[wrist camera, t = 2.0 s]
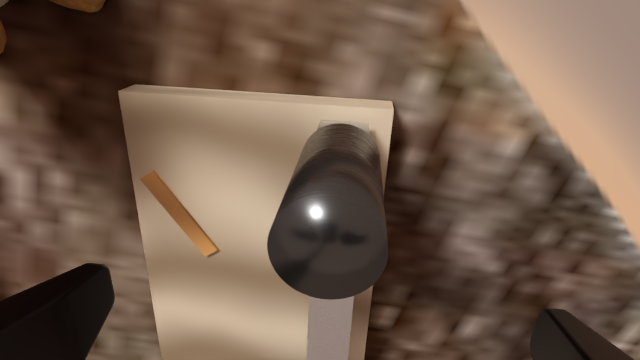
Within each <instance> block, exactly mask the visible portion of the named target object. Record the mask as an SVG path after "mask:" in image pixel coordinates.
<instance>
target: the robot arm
mask: <svg viewBox="0 0 640 360" xmlns="http://www.w3.org/2000/svg"><path fill="white" fill-rule="evenodd" d="M114 299H115V295H114V289H113V285H112V280H111V275H110V271H109V268H108V267H107V266H106V265H104V264H95V263H86V264H83V265H81V266H79V267H77V268H74V269H72V270H70V271H67V272H65V273H63V274H61V275H58V276H56V277H54V278H52V279H49V280H47V281H45V282H42V283H40V284H38V285H36V286H33V287H31V288H29V289H27V290H24V291H22V292H20V293H17V294H15V295H13V296H11V297H8V298H6V299H4V300H2V301H0V360H85V359H86V357H87V355H88V354H89V352H90V350H91V348H92V346H93V344H94V342H95V340H96V338H97V336H98V334H99V332H100V330H101V328H102V326H103V324H104V322H105V320H106V318H107V316H108V315H109V313H110V311H111V309H112V306H113V304H114ZM530 348H531V353H532V357H533V360H634V359H633V358H631V357H630V356H629V355H627V354H626V353H624V352H623V351H622V350H620V349H619V348H617V347H616V346H615V345H613V344H612V343H611V342H609V341H608V340H606V339H605V338H604V337H602V336H601V335H599V334H598V333H597V332H595V331H594V330H592V329H591V328H590V327H588V326H587V325H586V324H584V323H583V322H581V321H580V320H579V319H577V318H576V317H574V316H573V315H572V314H570V313H569V312H567V311H565V310H562V309H552V308H544V309H542V310H541V311H540V313H539V316H538V319H537V321H536V324H535V327H534V330H533V333H532V336H531V341H530Z"/></svg>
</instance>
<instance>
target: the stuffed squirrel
mask: <svg viewBox="0 0 640 360" xmlns="http://www.w3.org/2000/svg"><path fill="white" fill-rule="evenodd" d="M8 1H9V0H0V7H1V6H3V5H4V4H5V3H7V2H8ZM49 1H51V2H54V3H56V4H58V5H61V6H64V7H67V8H71V9H76V10H81V11H85V12H97V11H99V10H100V9H101V8H102V6H103V4H104V2H105V1H106V0H49ZM6 42H7V36H6V33H5V29H4V27H3V25H2V22H1V20H0V54H1V53H2V52H3V51H4V48H5V44H6Z"/></svg>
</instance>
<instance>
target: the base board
mask: <svg viewBox="0 0 640 360" xmlns="http://www.w3.org/2000/svg"><path fill="white" fill-rule="evenodd" d="M118 95H119V101H120V107H121V113H122V119H123V125H124V131H125V137H126V143H127V149H128V156H129V162H130V168H131V174H132V180H133V186H134V192H135V198H136V204H137V210H138V217H139V223H140V229H141V235H142V241H143V247H144V253H145V259H146V265H147V271H148V278H149V284H150V290H151V296H152V302H153V308H154V314H155V320H156V326H157V333H158V339H159V345H160V351H161V357H162V360H306V359H307V333H308V308H309V296H308V295H305V294H302V293H300V292H298V291H296V290H295V289H293V288H292V287H290V286H289V285H288V284H286V283H285V282H284V281H283V280H282V279H281V278H280V277H279V276H278V274H277V273H276V272H275V270H274V268H273V266H272V264H271V262H270V259H269V256H268V250H267V239H268V235H269V231H270V229H271V226H272V224H273V221H274V219H275V216H276V214H277V211H278V209H279V207H280V204H281V202H282V199H283V197H284V194H285V192H286V189H287V187H288V184H289V182H290V179H291V177H292V175H293V172H294V170H295V167H296V165H297V162H298V160H299V157H300V155H301V152H302V150H303V147H304V145H305V143H306V141H307V140H308V138H309V137H310V136H311V135H312V134H313V133H314V132H315V131H317V128H318V125H319V123H320V120H334V121H349V122H363V123H369V135H370V136H371V137H372V139H373V140H374V141H375V143H376V145H377V147H378V150H379V153H380V161H381V173H382V184H383V195H384V189H385V180H386V172H387V164H388V155H389V147H390V139H391V130H392V122H393V114H394V108H393V104H392V101H383V100H368V99H353V98H337V97H322V96H307V95H291V94H276V93H261V92H245V91H230V90H215V89H200V88H184V87H169V86H154V85H138V84H135V85H132V86H130V87H127V88H125V89H122V90H120V91H118ZM372 289H373V285H372V286H371V287H370V288H368V289H367V290H365V291H363V292H362V293H360V294H357V295H355V296H354V301H353V311H352V322H351V332H350V342H349V353H348V360H364V356H365V347H366V339H367V331H368V322H369V314H370V306H371V297H372Z"/></svg>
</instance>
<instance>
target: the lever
mask: <svg viewBox="0 0 640 360" xmlns="http://www.w3.org/2000/svg"><path fill="white" fill-rule="evenodd" d="M267 250H268V256H269V259H270V262H271V264H272V266H273V268H274V270H275V272H276V273H277V274H278V276H279V277H280V278H281V279H282V280H283V281H284V282H285V283H286V284H288V285H289V286H290V287H292V288H293V289H295V290H296V291H298V292H300V293H302V294H305V295H308V296H309V308H308V333H307V359H306V360H348V353H349V342H350V332H351V322H352V311H353V301H354V296H355V295H357V294H360V293H362V292H363V291H365V290H367V289H368V288H370V287H371V286H372V285H373V284H374V283H375V282H376V281H377V280H378V279H379V278H380V276H381V275H382V273H383V271H384V269H385V267H386V264H387V260H388V251H389V250H388V239H387V228H386V217H385V206H384V195H383V184H382V173H381V161H380V153H379V150H378V147H377V145H376V143H375V141H374V140H373V139H372V137H371V136H370V135H369V123H363V122H349V121H334V120H320V123H319V125H318V128H317V131H315V132H314V133H313V134H312V135H311V136H310V137H309V138H308V140H307V141H306V143H305V145H304V147H303V150H302V152H301V155H300V157H299V160H298V162H297V165H296V167H295V170H294V172H293V175H292V177H291V179H290V182H289V184H288V187H287V189H286V192H285V194H284V197H283V199H282V202H281V204H280V207H279V209H278V211H277V214H276V216H275V219H274V221H273V224H272V226H271V229H270V231H269V235H268V239H267Z"/></svg>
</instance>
